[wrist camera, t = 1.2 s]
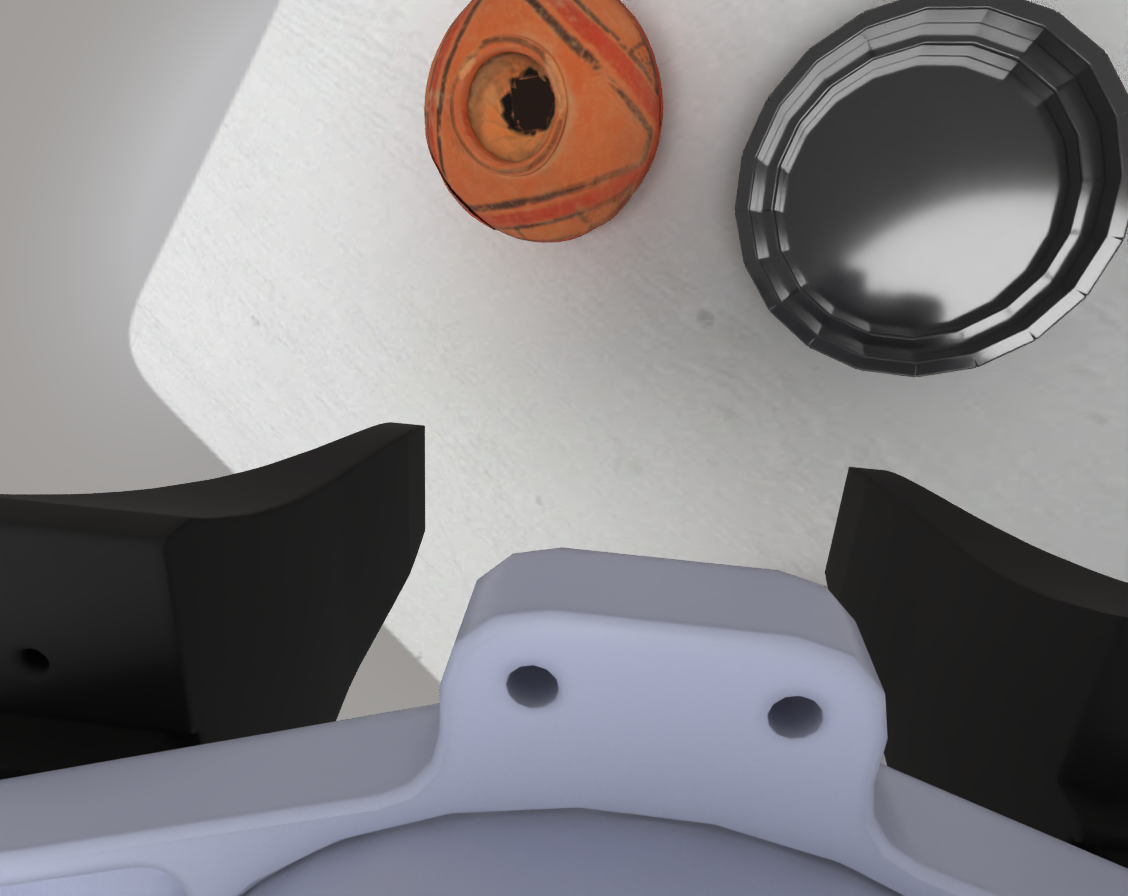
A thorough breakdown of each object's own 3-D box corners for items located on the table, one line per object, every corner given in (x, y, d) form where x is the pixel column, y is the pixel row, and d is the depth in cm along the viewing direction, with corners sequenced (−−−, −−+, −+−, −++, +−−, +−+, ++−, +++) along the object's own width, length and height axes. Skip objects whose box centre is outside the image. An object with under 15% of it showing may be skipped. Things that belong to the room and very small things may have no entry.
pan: (1055, 379, 25) (1082, 399, 22) (732, 339, 28) (715, 351, 25) (1146, 22, 22) (1192, -14, 19) (775, 22, 25) (762, -8, 22)
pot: (671, -49, 25) (625, -66, 20) (692, 201, 29) (659, 247, 23) (447, 0, 28) (349, -4, 22) (491, 223, 31) (415, 270, 26)
